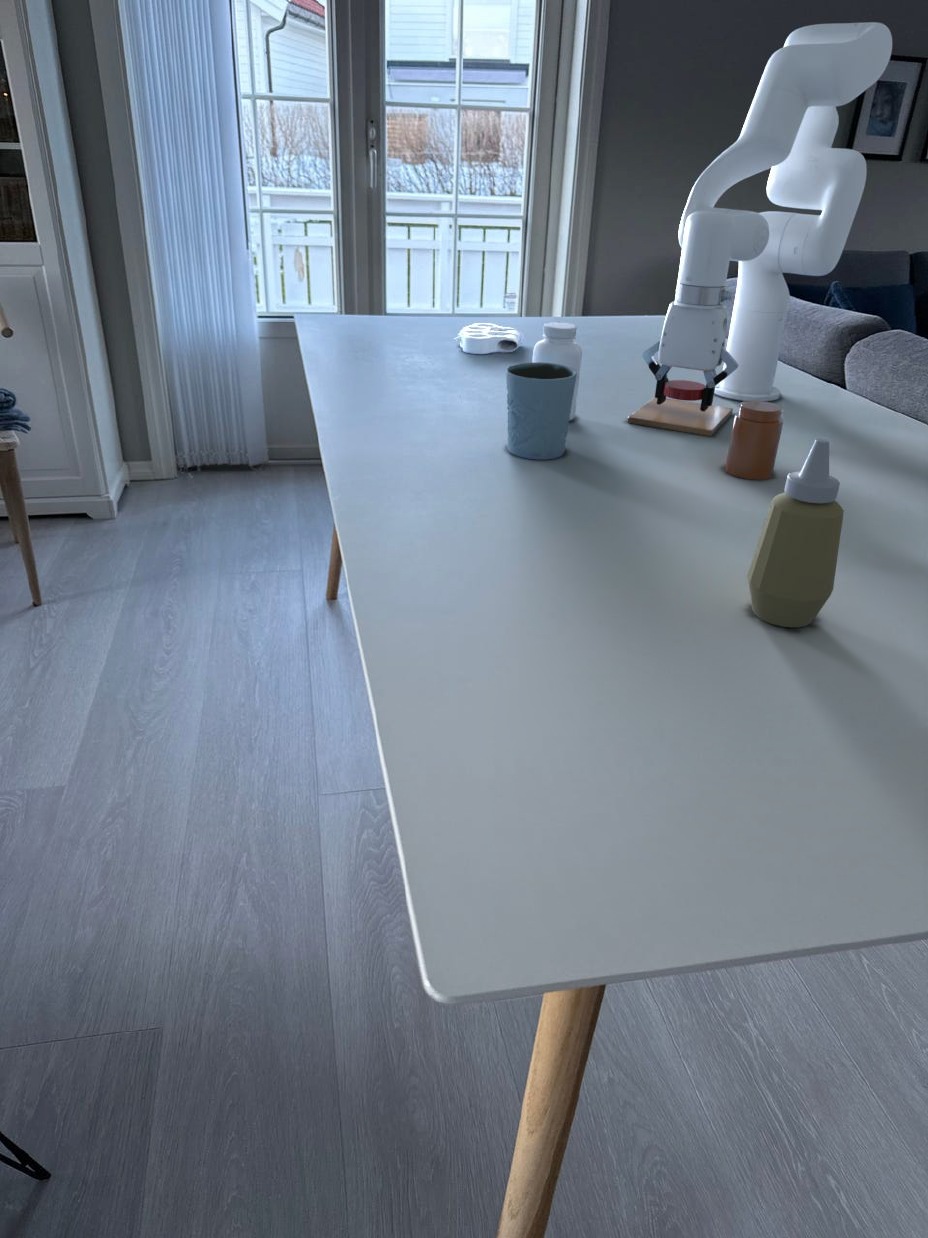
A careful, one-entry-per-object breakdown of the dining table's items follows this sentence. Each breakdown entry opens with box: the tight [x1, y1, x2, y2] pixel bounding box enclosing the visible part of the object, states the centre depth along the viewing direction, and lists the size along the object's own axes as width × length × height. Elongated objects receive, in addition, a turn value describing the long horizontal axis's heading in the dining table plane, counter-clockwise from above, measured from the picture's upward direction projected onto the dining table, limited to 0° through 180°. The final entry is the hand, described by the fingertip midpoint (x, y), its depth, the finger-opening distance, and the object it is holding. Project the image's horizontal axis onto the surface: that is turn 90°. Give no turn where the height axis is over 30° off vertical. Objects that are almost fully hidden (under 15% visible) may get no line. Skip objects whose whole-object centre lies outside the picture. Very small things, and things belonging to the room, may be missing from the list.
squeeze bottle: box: [746, 438, 845, 628], centre depth 86 cm, size 8×8×18 cm
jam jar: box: [724, 401, 784, 481], centre depth 128 cm, size 7×7×10 cm
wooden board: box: [627, 396, 734, 437], centre depth 154 cm, size 16×14×1 cm
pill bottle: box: [531, 321, 583, 422], centre depth 148 cm, size 8×8×15 cm
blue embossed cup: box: [505, 362, 577, 460], centre depth 132 cm, size 10×10×12 cm
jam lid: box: [663, 379, 706, 402], centre depth 152 cm, size 7×7×2 cm
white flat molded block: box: [453, 322, 524, 355], centre depth 201 cm, size 3×18×15 cm
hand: (682, 405), depth 153 cm, fingers closed on jam lid, 6 cm apart
